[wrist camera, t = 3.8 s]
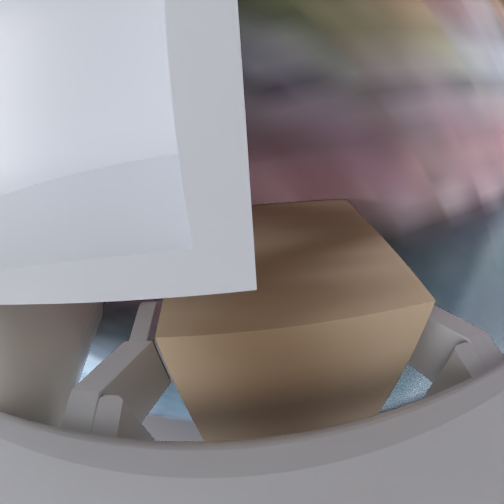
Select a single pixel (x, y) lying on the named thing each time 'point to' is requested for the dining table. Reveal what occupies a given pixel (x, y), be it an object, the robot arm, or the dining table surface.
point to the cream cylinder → (44, 356)
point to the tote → (122, 151)
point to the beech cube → (297, 328)
